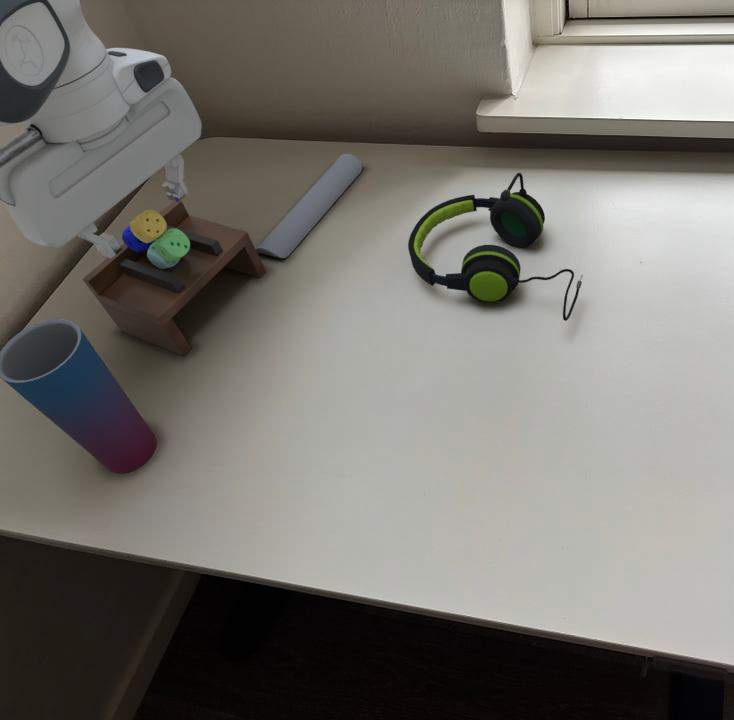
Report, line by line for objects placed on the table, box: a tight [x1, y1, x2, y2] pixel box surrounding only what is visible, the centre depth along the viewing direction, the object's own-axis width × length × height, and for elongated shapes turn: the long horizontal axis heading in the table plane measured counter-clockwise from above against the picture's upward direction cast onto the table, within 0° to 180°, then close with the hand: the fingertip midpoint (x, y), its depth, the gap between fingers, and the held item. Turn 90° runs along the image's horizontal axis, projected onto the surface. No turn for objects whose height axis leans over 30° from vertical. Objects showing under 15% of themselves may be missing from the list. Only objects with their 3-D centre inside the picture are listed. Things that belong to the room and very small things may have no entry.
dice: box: [121, 208, 190, 269], centre depth 75 cm, size 8×3×6 cm, turn 62°
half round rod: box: [255, 153, 363, 259], centre depth 90 cm, size 4×20×2 cm, turn 155°
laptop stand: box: [81, 200, 267, 357], centre depth 79 cm, size 14×10×8 cm
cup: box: [0, 318, 157, 474], centre depth 63 cm, size 7×7×15 cm
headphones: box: [407, 172, 584, 322], centre depth 75 cm, size 16×10×20 cm
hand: (147, 224), depth 73 cm, fingers open, 8 cm apart
